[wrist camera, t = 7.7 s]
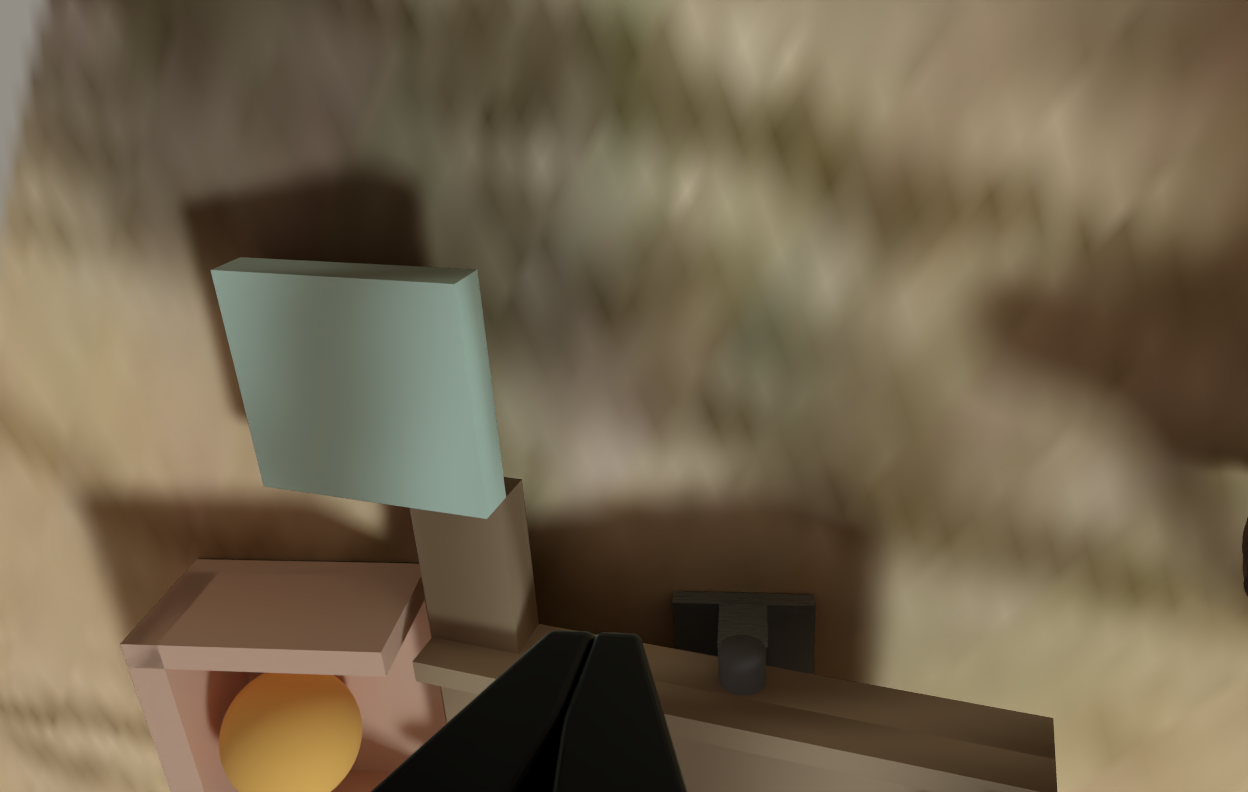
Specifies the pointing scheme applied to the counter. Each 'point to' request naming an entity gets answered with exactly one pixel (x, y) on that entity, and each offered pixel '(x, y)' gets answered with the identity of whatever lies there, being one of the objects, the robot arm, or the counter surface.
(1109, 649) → the counter surface
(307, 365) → the lever
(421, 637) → the dish
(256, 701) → the ball
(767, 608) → the fulcrum
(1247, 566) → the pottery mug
